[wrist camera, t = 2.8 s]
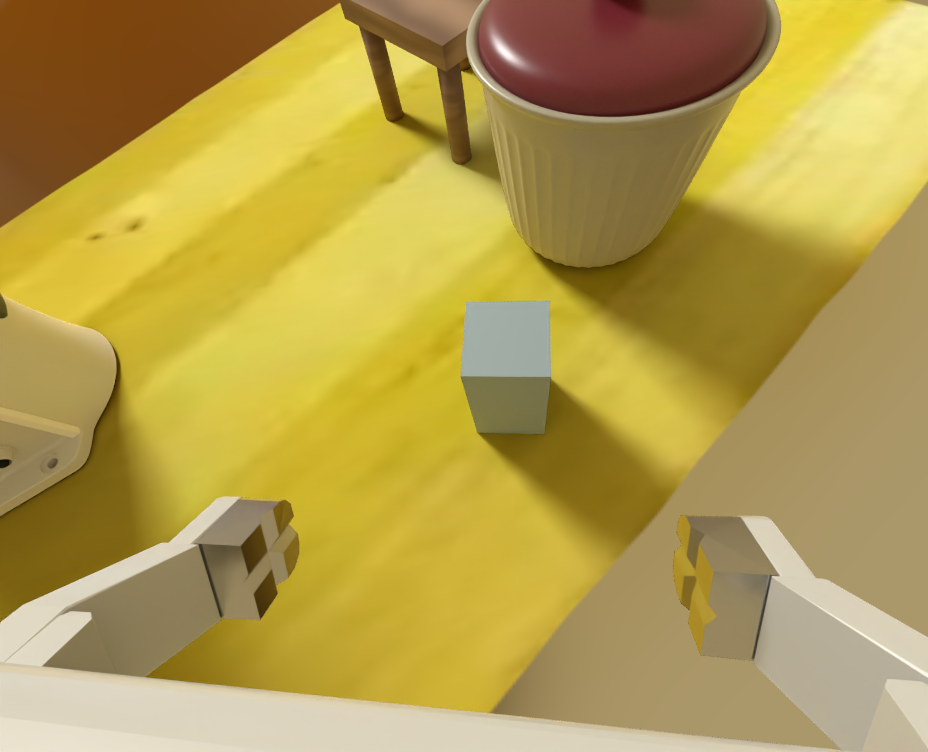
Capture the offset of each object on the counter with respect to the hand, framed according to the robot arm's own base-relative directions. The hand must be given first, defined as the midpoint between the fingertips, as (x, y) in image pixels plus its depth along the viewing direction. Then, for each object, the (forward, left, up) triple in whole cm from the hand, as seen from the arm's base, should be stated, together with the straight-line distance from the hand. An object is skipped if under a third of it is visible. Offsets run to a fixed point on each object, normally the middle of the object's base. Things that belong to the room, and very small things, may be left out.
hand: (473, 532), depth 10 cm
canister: (+27, +16, -23) cm, 39 cm away
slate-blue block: (+9, +8, -23) cm, 26 cm away
